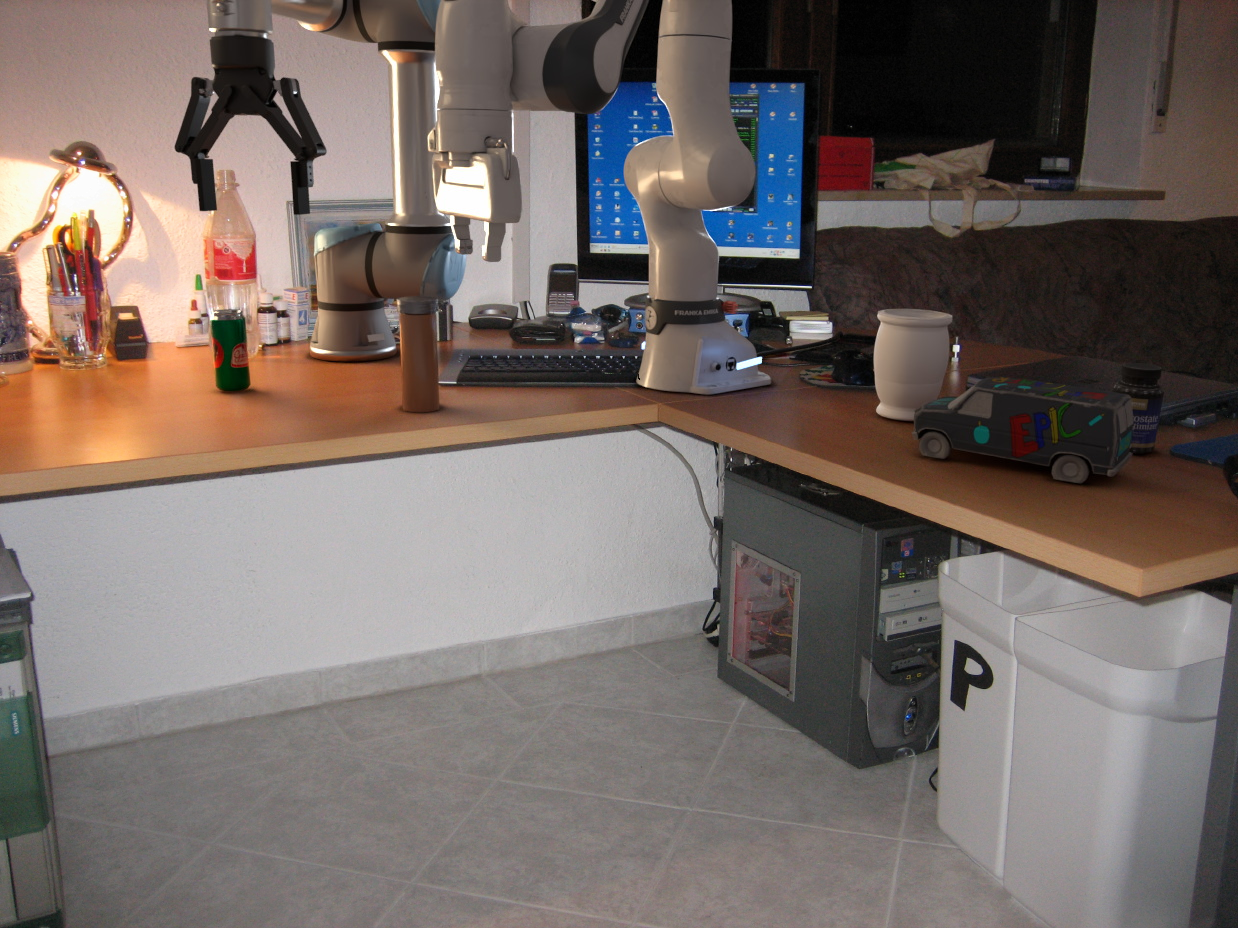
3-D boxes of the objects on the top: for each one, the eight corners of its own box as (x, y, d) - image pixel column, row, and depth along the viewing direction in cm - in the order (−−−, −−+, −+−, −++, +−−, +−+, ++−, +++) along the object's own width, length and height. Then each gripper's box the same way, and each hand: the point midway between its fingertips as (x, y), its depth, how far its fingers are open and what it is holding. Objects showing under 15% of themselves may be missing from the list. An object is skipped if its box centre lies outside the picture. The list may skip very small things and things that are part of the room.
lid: (446, 310, 152) (446, 298, 152) (418, 315, 148) (417, 302, 147) (417, 307, 156) (417, 295, 155) (388, 311, 151) (388, 299, 151)
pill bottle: (1117, 454, 138) (1130, 370, 135) (1094, 442, 144) (1106, 361, 140) (1163, 454, 138) (1177, 370, 135) (1139, 442, 144) (1152, 361, 141)
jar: (854, 409, 159) (862, 309, 155) (910, 404, 163) (920, 306, 159) (898, 426, 150) (909, 320, 146) (957, 420, 154) (969, 317, 150)
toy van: (934, 436, 145) (942, 364, 142) (1131, 470, 131) (1144, 390, 128) (905, 453, 136) (913, 376, 134) (1112, 490, 123) (1125, 406, 120)
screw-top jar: (446, 407, 156) (444, 302, 152) (421, 414, 152) (417, 305, 148) (420, 402, 159) (417, 298, 155) (394, 408, 155) (390, 302, 151)
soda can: (239, 393, 162) (233, 314, 158) (209, 391, 163) (202, 312, 159) (257, 386, 167) (251, 309, 163) (227, 384, 168) (221, 308, 164)
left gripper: (134, 34, 131) (152, 210, 137) (317, 32, 126) (327, 217, 132) (172, 40, 138) (188, 208, 144) (347, 39, 133) (356, 214, 139)
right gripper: (536, 138, 117) (536, 265, 121) (471, 138, 134) (473, 249, 138) (481, 136, 114) (483, 267, 118) (422, 137, 131) (426, 251, 135)
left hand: (254, 213), depth 138 cm, fingers open, 13 cm apart
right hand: (477, 257), depth 128 cm, fingers open, 8 cm apart
